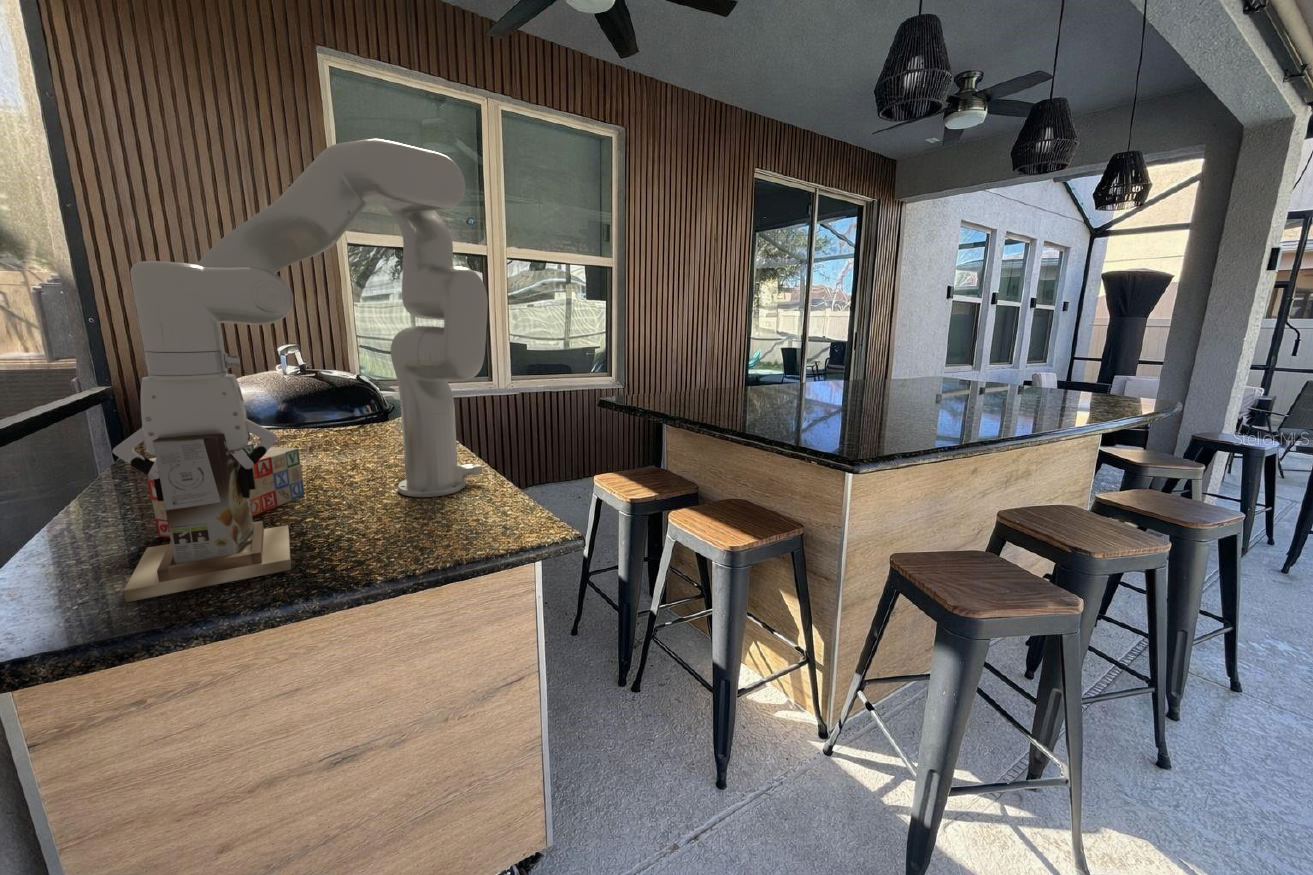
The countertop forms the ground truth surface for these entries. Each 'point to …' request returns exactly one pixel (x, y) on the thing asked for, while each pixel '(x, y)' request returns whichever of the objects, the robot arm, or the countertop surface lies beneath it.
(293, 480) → the stack of blocks
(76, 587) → the countertop surface
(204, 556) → the coffee box
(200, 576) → the base board
